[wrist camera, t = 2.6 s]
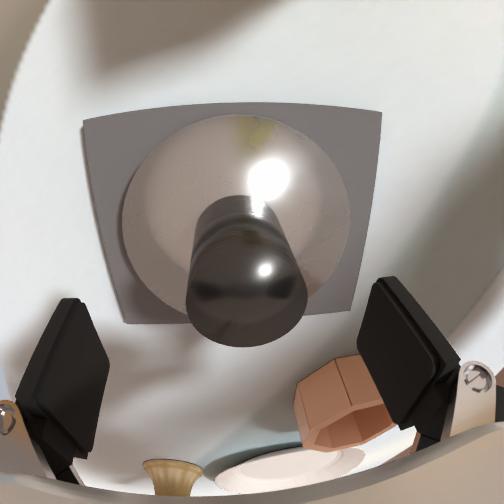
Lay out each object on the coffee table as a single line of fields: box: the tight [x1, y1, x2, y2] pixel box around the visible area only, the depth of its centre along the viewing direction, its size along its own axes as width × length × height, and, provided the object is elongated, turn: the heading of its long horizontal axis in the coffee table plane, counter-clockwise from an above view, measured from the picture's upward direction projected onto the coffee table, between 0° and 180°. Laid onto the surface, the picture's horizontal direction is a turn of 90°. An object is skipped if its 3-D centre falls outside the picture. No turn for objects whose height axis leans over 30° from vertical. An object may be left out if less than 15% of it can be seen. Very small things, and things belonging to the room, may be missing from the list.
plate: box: [214, 447, 366, 494], centre depth 33 cm, size 21×21×2 cm
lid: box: [122, 114, 350, 347], centre depth 12 cm, size 11×11×6 cm
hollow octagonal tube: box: [293, 355, 398, 453], centre depth 22 cm, size 9×9×4 cm
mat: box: [83, 102, 382, 324], centre depth 15 cm, size 14×12×1 cm
